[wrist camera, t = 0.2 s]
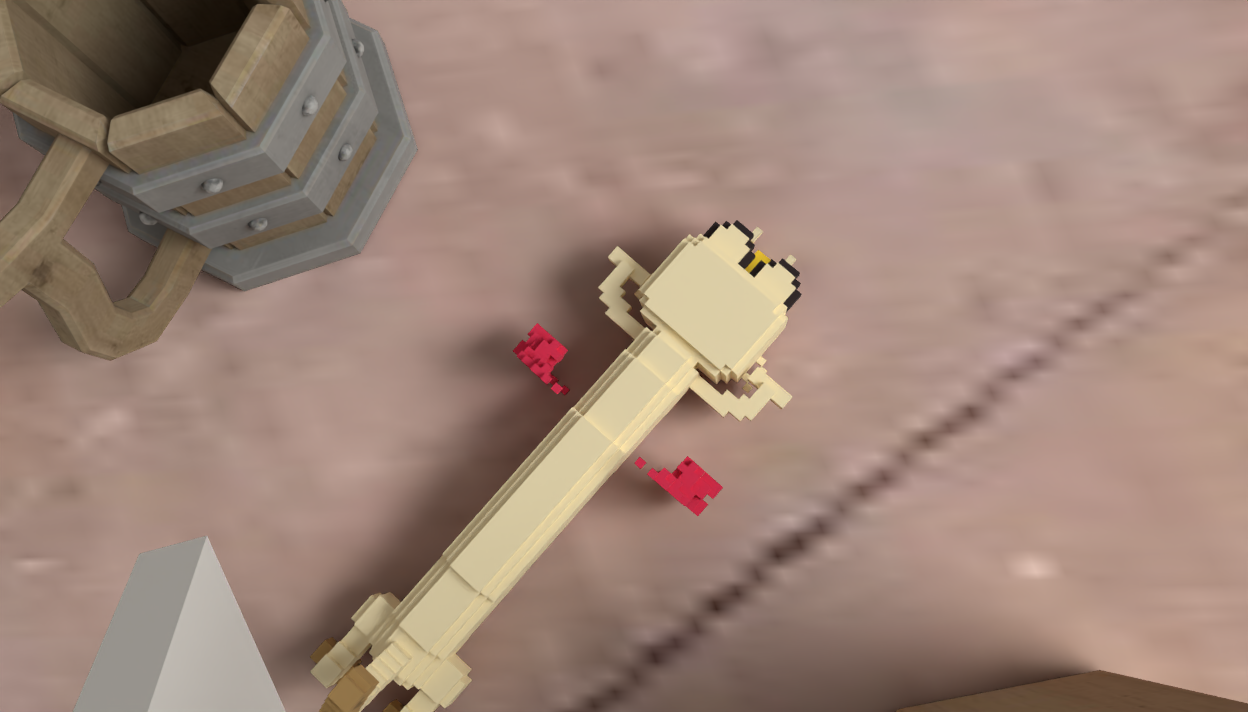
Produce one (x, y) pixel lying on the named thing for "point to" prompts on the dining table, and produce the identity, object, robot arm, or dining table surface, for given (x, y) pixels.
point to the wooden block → (1086, 697)
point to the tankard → (193, 148)
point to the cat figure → (579, 456)
